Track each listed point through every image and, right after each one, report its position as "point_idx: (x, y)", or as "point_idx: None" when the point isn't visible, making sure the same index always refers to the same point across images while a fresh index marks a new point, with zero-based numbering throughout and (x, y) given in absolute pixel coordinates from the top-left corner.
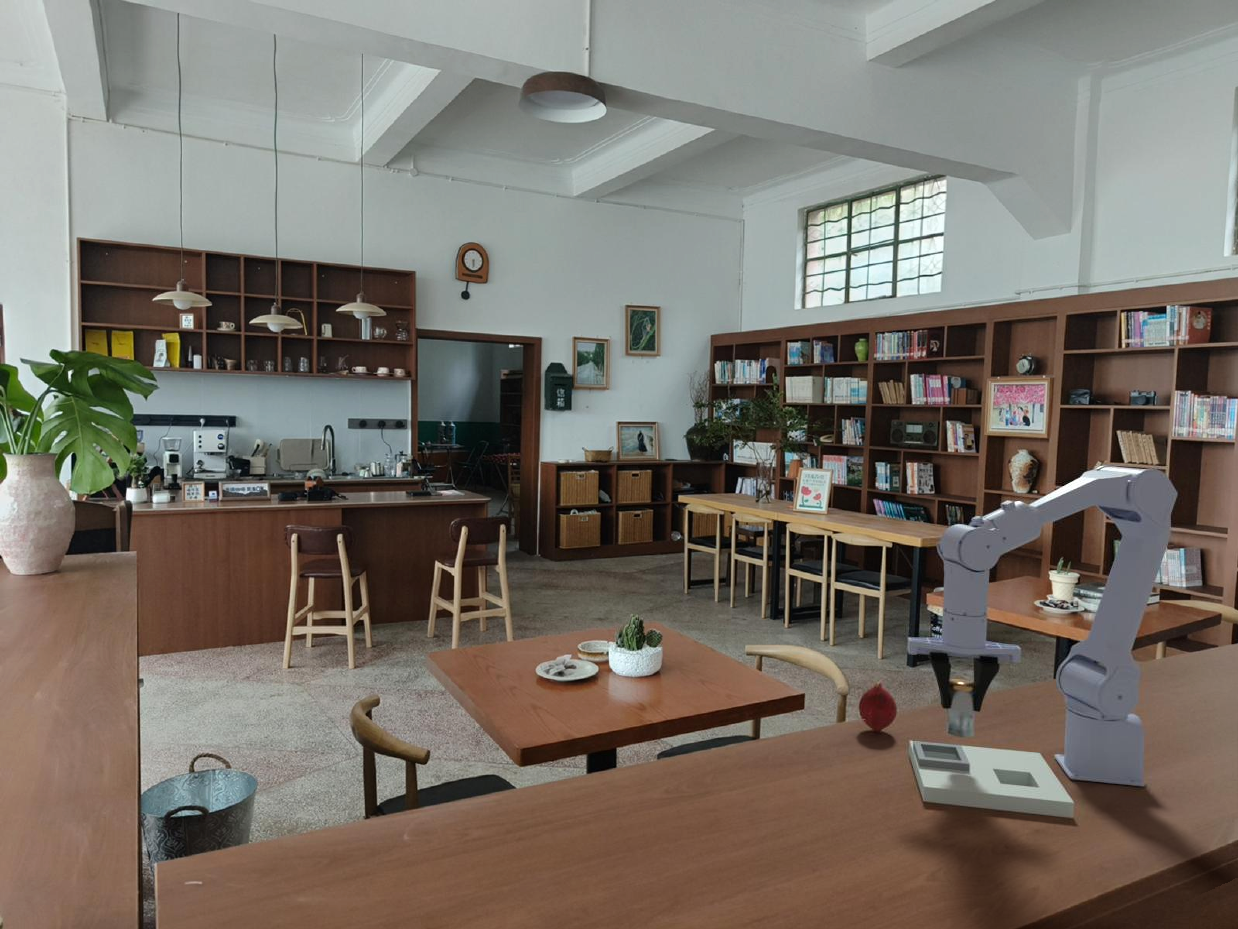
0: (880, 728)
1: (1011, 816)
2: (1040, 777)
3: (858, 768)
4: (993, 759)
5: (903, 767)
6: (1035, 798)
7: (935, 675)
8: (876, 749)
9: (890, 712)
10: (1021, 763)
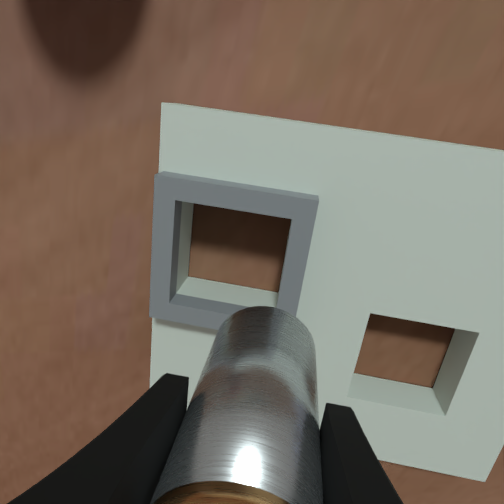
0: None
1: None
2: (490, 363)
3: (29, 229)
4: (409, 245)
5: (145, 212)
6: (397, 462)
7: (31, 489)
8: (79, 77)
9: None
10: (493, 272)
